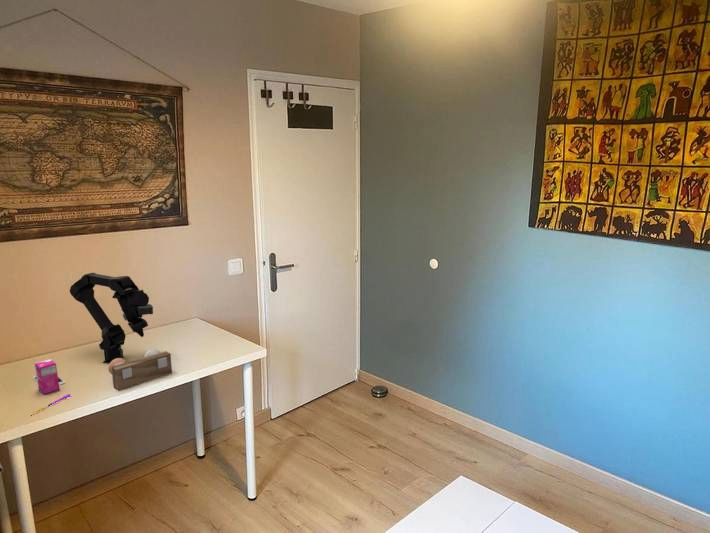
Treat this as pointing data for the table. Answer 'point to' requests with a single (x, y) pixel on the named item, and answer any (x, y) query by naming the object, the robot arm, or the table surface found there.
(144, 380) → the panel
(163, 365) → the grey plunger
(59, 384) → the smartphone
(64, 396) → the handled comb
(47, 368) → the supplement box
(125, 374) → the terracotta plunger
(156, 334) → the table surface
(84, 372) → the table surface
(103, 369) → the table surface
